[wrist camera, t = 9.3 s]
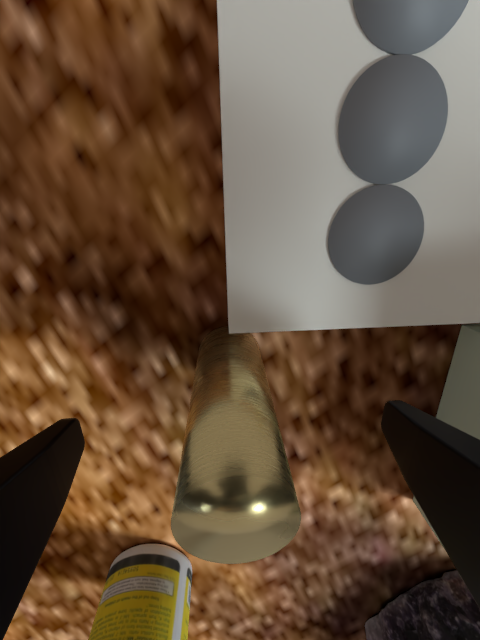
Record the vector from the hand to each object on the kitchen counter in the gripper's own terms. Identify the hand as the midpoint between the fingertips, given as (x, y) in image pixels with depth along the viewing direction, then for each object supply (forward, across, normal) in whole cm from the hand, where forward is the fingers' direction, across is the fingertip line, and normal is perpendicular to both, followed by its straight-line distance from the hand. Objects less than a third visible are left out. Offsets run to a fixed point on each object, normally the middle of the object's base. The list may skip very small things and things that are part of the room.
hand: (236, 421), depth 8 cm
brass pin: (+4, 0, 0) cm, 4 cm away
